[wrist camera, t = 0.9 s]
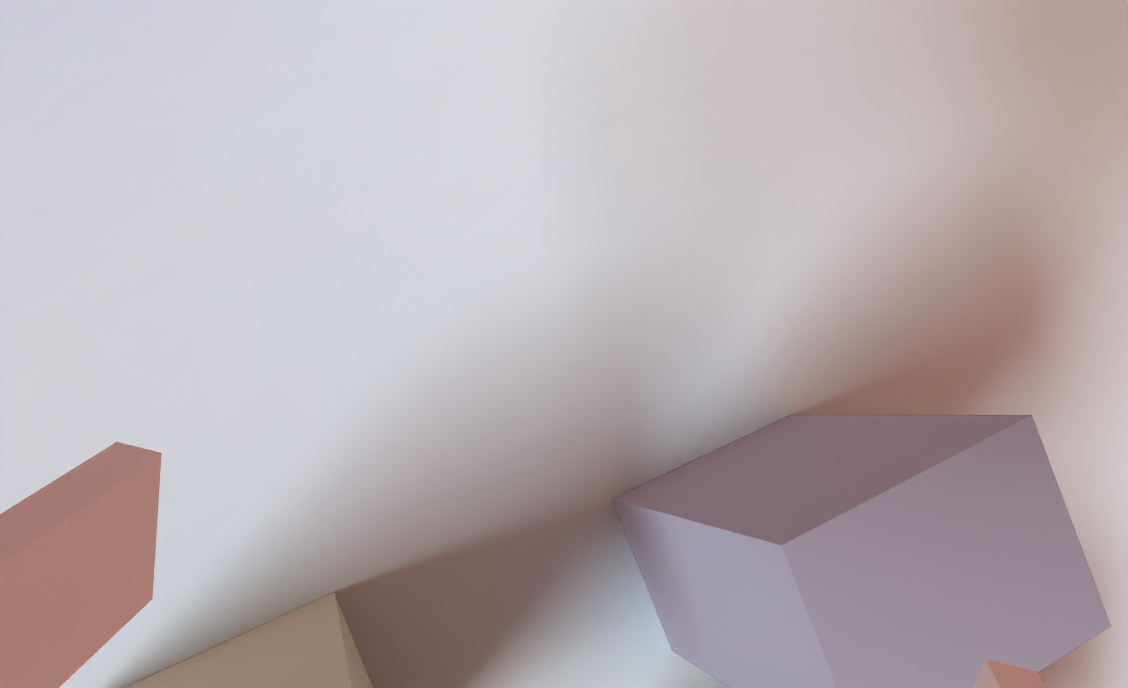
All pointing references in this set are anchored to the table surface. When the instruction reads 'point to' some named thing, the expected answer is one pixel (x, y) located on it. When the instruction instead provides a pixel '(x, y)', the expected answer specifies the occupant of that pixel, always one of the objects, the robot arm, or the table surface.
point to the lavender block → (865, 553)
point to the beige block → (277, 655)
